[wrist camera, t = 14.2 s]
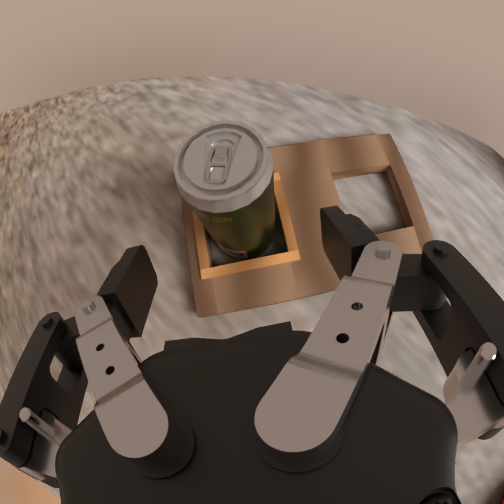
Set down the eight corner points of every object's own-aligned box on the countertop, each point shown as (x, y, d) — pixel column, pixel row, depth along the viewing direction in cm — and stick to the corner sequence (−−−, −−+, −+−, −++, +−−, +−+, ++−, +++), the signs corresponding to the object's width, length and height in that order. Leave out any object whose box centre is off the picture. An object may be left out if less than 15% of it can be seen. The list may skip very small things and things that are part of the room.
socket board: (385, 141, 26) (390, 132, 24) (431, 264, 23) (440, 260, 21) (183, 176, 27) (178, 167, 25) (202, 317, 23) (196, 316, 22)
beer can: (272, 263, 24) (268, 208, 12) (211, 258, 25) (158, 202, 13) (277, 205, 25) (276, 118, 14) (220, 202, 26) (182, 119, 14)
